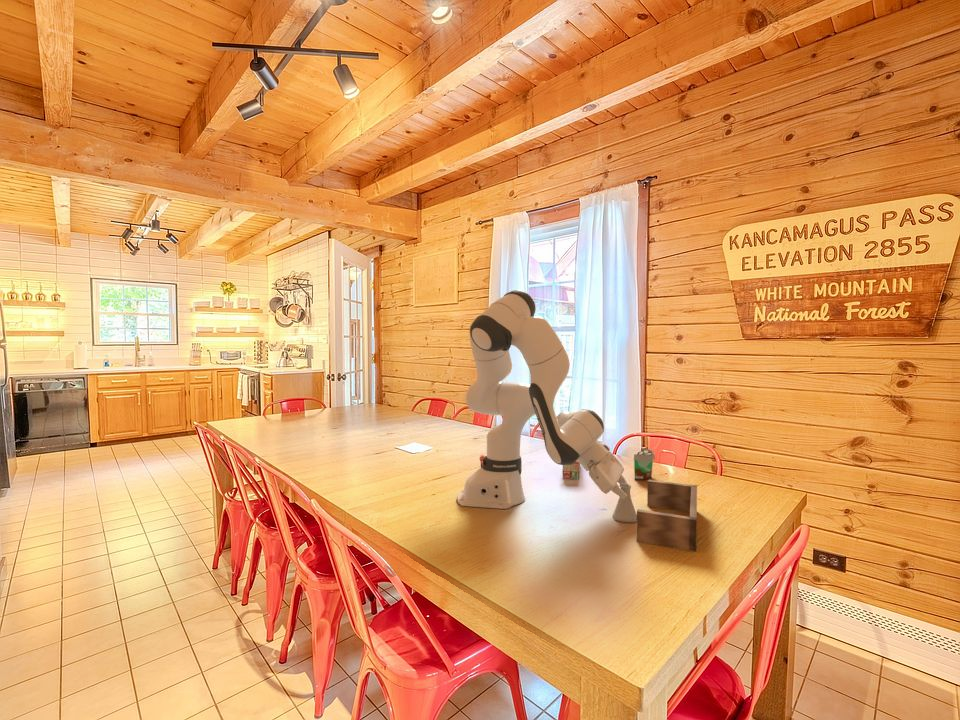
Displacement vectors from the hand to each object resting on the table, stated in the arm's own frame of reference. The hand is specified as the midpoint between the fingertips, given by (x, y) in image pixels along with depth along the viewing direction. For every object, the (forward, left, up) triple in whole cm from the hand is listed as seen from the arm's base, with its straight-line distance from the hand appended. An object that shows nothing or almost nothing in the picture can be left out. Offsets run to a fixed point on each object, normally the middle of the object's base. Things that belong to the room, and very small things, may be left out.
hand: (627, 493), depth 133 cm
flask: (-1, 0, -8) cm, 8 cm away
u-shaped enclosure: (+10, -5, -7) cm, 14 cm away
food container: (+19, +39, -8) cm, 44 cm away
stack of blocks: (-7, +49, -8) cm, 50 cm away
